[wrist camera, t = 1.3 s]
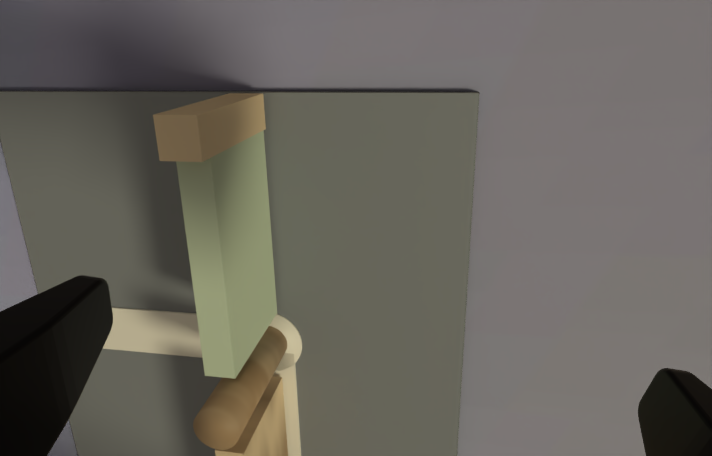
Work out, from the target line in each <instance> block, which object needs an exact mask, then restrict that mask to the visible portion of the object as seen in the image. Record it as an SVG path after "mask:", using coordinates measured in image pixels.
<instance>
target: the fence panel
mask: <svg viewBox="0 0 712 456" xmlns="http://www.w3.org/2000/svg"><path fill="white" fill-rule="evenodd" d="M153 119H154V125H155V132H156V139H157V146H158V153H159V160H160V161H176V164H177V171H178V179H179V186H180V194H181V201H182V209H183V216H184V223H185V231H186V238H187V246H188V253H189V261H190V268H191V276H192V283H193V291H194V298H195V305H196V313H197V320H198V328H199V335H200V343H201V350H202V358H203V365H204V373H205V376H213V377H223V378H233V379H235V378H236V377H237V375H238V374H239V372H240V371H241V369H242V367H243V366H244V364H245V363H246V361H247V360H248V358H249V356H250V355H251V353H252V352H253V350H254V349H255V347H256V345H257V344H258V342H259V341H260V339H261V338H262V336H263V334H264V333H265V331H266V330H267V328H268V327H269V325H270V323H271V322H272V320H273V319H274V317H275V316H276V314H277V302H276V289H275V275H274V262H273V249H272V236H271V222H270V209H269V196H268V182H267V169H266V156H265V143H264V130H265V129H266V124H265V111H264V97H263V93H229V94H225V95H221V96H218V97H214V98H211V99H207V100H204V101H200V102H197V103H193V104H189V105H186V106H182V107H179V108H175V109H172V110H168V111H165V112H161V113H157V114H154V115H153Z"/></svg>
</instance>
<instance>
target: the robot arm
mask: <svg viewBox="0 0 712 456" xmlns="http://www.w3.org/2000/svg"><path fill="white" fill-rule="evenodd" d="M112 324H113V312H112V306H111V299H110V292H109V286H108V283H107V281H106V280H104V279H103V278H98V277H92V276H86V275H79V276H76V277H74V278H72V279H69V280H67V281H65V282H63V283H61V284H59V285H57V286H54V287H52V288H50V289H48V290H46V291H44V292H42V293H39V294H37V295H35V296H33V297H31V298H29V299H27V300H24V301H22V302H20V303H18V304H16V305H14V306H12V307H9V308H7V309H5V310H3V311H1V312H0V456H47V455H48V453H49V451H50V450H51V448H52V447H53V445H54V443H55V442H56V440H57V438H58V437H59V435H60V433H61V432H62V430H63V428H64V427H65V425H66V423H67V421H68V420H69V418H70V416H71V414H72V412H73V410H74V408H75V406H76V404H77V402H78V400H79V398H80V396H81V394H82V392H83V390H84V387H85V385H86V383H87V381H88V379H89V377H90V374H91V372H92V370H93V368H94V366H95V364H96V362H97V359H98V357H99V355H100V353H101V351H102V349H103V346H104V344H105V342H106V340H107V338H108V336H109V334H110V331H111V328H112ZM638 417H639V423H640V428H641V433H642V438H643V443H644V447H645V452H646V456H712V389H711V388H709V387H708V386H707V385H706V384H705V383H703V382H702V381H701V380H700V379H698V378H697V377H696V376H695V375H693V374H692V373H690V372H687V371H682V370H676V369H670V368H664V369H661V370H660V371H658V372H657V374H656V375H655V377H654V379H653V380H652V382H651V384H650V385H649V387H648V389H647V390H646V392H645V394H644V395H643V397H642V399H641V401H640V403H639V407H638Z"/></svg>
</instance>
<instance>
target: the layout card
mask: <svg viewBox="0 0 712 456" xmlns="http://www.w3.org/2000/svg"><path fill="white" fill-rule="evenodd" d="M229 93H263V97H264V111H265V124H266V129H265V130H264V143H265V156H266V169H267V182H268V196H269V209H270V222H271V236H272V249H273V262H274V275H275V289H276V302H277V314H276V316H275V317H274V319H273V320H272V322H271V323H270V325H269V326H272V327H274V328H276V329H278V330H279V331H281V332H282V333H283V335H284V336H285V338H286V340H287V350H286V352H285V354H284V356H283V357H282V359H281V361H280V363H279V365H278V367H277V369H276V371H275V372H274V374H273V377H282V382H283V395H284V408H285V421H286V435H287V448H288V456H457V446H458V429H459V413H460V397H461V381H462V365H463V349H464V332H465V316H466V300H467V284H468V268H469V251H470V235H471V219H472V203H473V187H474V170H475V154H476V138H477V122H478V106H479V92H296V91H0V140H1V144H2V148H3V153H4V157H5V161H6V165H7V169H8V173H9V177H10V181H11V185H12V189H13V193H14V197H15V201H16V205H17V209H18V214H19V218H20V222H21V226H22V230H23V234H24V238H25V242H26V246H27V250H28V254H29V258H30V262H31V266H32V270H33V275H34V279H35V283H36V287H37V291H38V294H39V293H42V292H44V291H46V290H48V289H50V288H52V287H54V286H57V285H59V284H61V283H63V282H65V281H67V280H69V279H72V278H74V277H76V276H79V275H86V276H92V277H98V278H103V279H104V280H106V281H107V283H108V286H109V292H110V299H111V306H112V312H113V324H112V328H111V331H110V334H109V336H108V338H107V340H106V342H105V344H104V346H103V349H102V351H101V353H100V355H99V357H98V359H97V362H96V364H95V366H94V368H93V370H92V372H91V374H90V377H89V379H88V381H87V383H86V385H85V387H84V390H83V392H82V394H81V396H80V398H79V400H78V402H77V404H76V406H75V408H74V410H73V412H72V414H71V416H70V418H69V421H70V425H71V429H72V433H73V437H74V441H75V445H76V449H77V453H78V456H216V455H215V449H214V448H211V447H209V446H207V445H205V444H204V443H203V442H201V441H200V440H199V438H198V437H197V436H196V434H195V432H194V428H193V422H194V419H195V417H196V416H197V414H198V413H199V411H200V410H201V408H202V407H203V405H204V404H205V402H206V401H207V399H208V398H209V396H210V395H211V393H212V392H213V390H214V389H215V387H216V386H217V385H218V383H219V382H220V380H221V379H222V377H213V376H205V373H204V365H203V358H202V350H201V343H200V335H199V328H198V320H197V313H196V305H195V298H194V291H193V283H192V276H191V268H190V261H189V253H188V246H187V238H186V231H185V223H184V216H183V209H182V201H181V194H180V186H179V179H178V171H177V164H176V161H160V160H159V153H158V146H157V139H156V132H155V125H154V119H153V115H154V114H157V113H161V112H165V111H168V110H172V109H175V108H179V107H182V106H186V105H189V104H193V103H197V102H200V101H204V100H207V99H211V98H214V97H218V96H221V95H225V94H229Z"/></svg>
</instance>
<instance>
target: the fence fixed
mask: <svg viewBox="0 0 712 456" xmlns="http://www.w3.org/2000/svg"><path fill="white" fill-rule="evenodd" d="M286 350H287V340H286V338H285V336H284V335H283V333H282V332H281V331H279V330H278V329H276V328H274V327H272V326H269V327H268V328H267V330H266V331H265V333H264V334H263V336H262V338H261V339H260V341H259V342H258V344H257V345H256V347H255V349H254V350H253V352H252V353H251V355H250V356H249V358H248V360H247V361H246V363H245V364H244V366H243V367H242V369H241V371H240V372H239V374H238V375H237V377H236V378H235V379H233V378H223V377H222V379H221V380H220V382H219V383H218V385H217V386H216V387H215V389H214V390H213V392H212V393H211V395H210V396H209V398H208V399H207V401H206V402H205V404H204V405H203V407H202V408H201V410H200V411H199V413H198V414H197V416H196V417H195V419H194V422H193V428H194V432H195V434H196V436H197V437H198V438H199V440H200V441H201V442H203V443H204V444H205V445H207V446H209V447H211V448H214V449H215V455H216V456H288V448H287V435H286V421H285V408H284V395H283V382H282V377H273V374H274V372H275V371H276V369H277V367H278V365H279V363H280V361H281V359H282V357H283V356H284V354H285V352H286Z"/></svg>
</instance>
